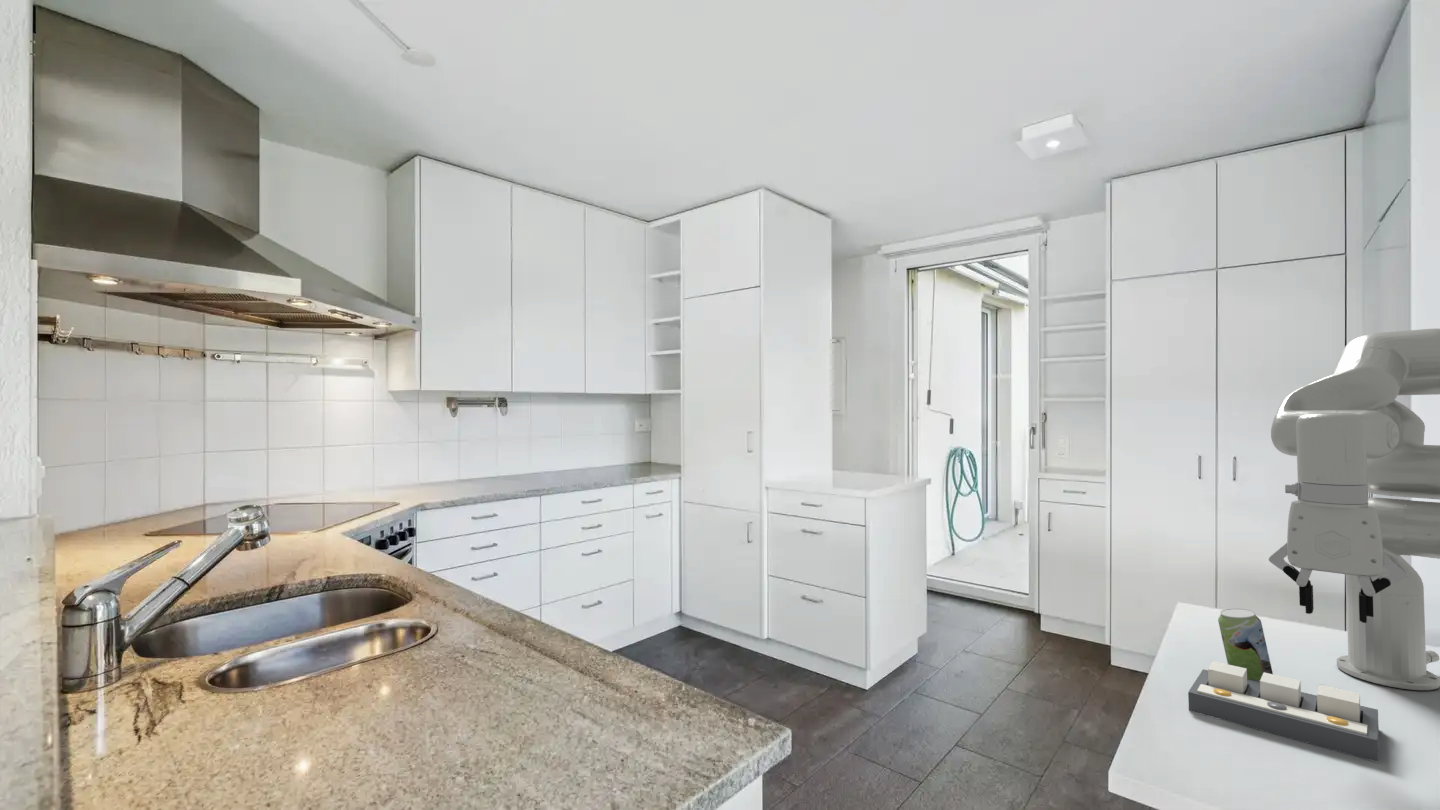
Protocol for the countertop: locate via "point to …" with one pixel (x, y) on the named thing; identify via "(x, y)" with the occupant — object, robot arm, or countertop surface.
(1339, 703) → the right key
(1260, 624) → the beverage can
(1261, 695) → the middle key
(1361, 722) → the board
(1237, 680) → the left key
